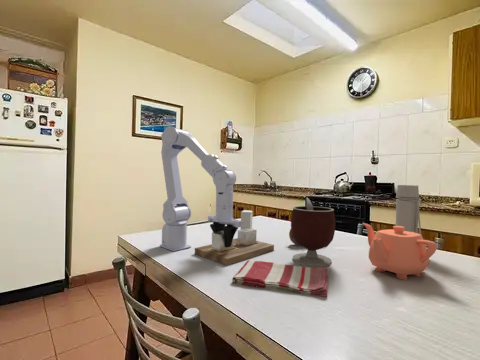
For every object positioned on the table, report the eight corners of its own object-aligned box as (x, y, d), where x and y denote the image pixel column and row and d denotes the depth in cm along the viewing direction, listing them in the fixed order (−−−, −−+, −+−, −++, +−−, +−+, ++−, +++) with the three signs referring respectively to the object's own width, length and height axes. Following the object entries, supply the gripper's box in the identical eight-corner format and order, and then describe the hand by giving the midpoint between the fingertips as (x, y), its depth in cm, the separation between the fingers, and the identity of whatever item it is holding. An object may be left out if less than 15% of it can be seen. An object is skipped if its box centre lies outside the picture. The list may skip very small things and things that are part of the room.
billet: (211, 253, 89) (211, 232, 89) (224, 249, 93) (224, 229, 93) (219, 256, 86) (220, 234, 86) (232, 252, 90) (233, 231, 90)
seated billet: (237, 249, 98) (237, 230, 98) (248, 246, 102) (248, 228, 102) (245, 251, 95) (245, 232, 95) (256, 248, 100) (256, 229, 99)
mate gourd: (340, 268, 80) (342, 202, 79) (294, 267, 80) (296, 201, 79) (324, 253, 95) (326, 197, 95) (286, 252, 95) (287, 196, 95)
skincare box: (249, 240, 112) (250, 212, 111) (240, 239, 112) (240, 211, 112) (252, 237, 118) (252, 210, 117) (242, 236, 118) (243, 209, 118)
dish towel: (328, 300, 60) (328, 288, 60) (230, 285, 67) (230, 275, 67) (326, 274, 76) (326, 265, 76) (247, 264, 83) (248, 256, 83)
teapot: (372, 278, 72) (374, 229, 72) (360, 260, 88) (361, 219, 88) (441, 286, 68) (443, 233, 68) (415, 265, 84) (416, 223, 84)
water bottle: (389, 250, 101) (391, 184, 101) (404, 249, 103) (406, 184, 103) (411, 257, 92) (413, 185, 92) (427, 255, 95) (430, 186, 94)
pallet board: (194, 253, 91) (194, 247, 91) (242, 242, 109) (242, 236, 109) (227, 265, 80) (227, 258, 80) (273, 250, 98) (274, 244, 98)
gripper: (201, 204, 92) (200, 243, 92) (231, 208, 82) (230, 252, 82) (216, 203, 97) (215, 240, 97) (246, 206, 87) (245, 248, 87)
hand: (223, 245), depth 90 cm, fingers closed on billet, 4 cm apart
